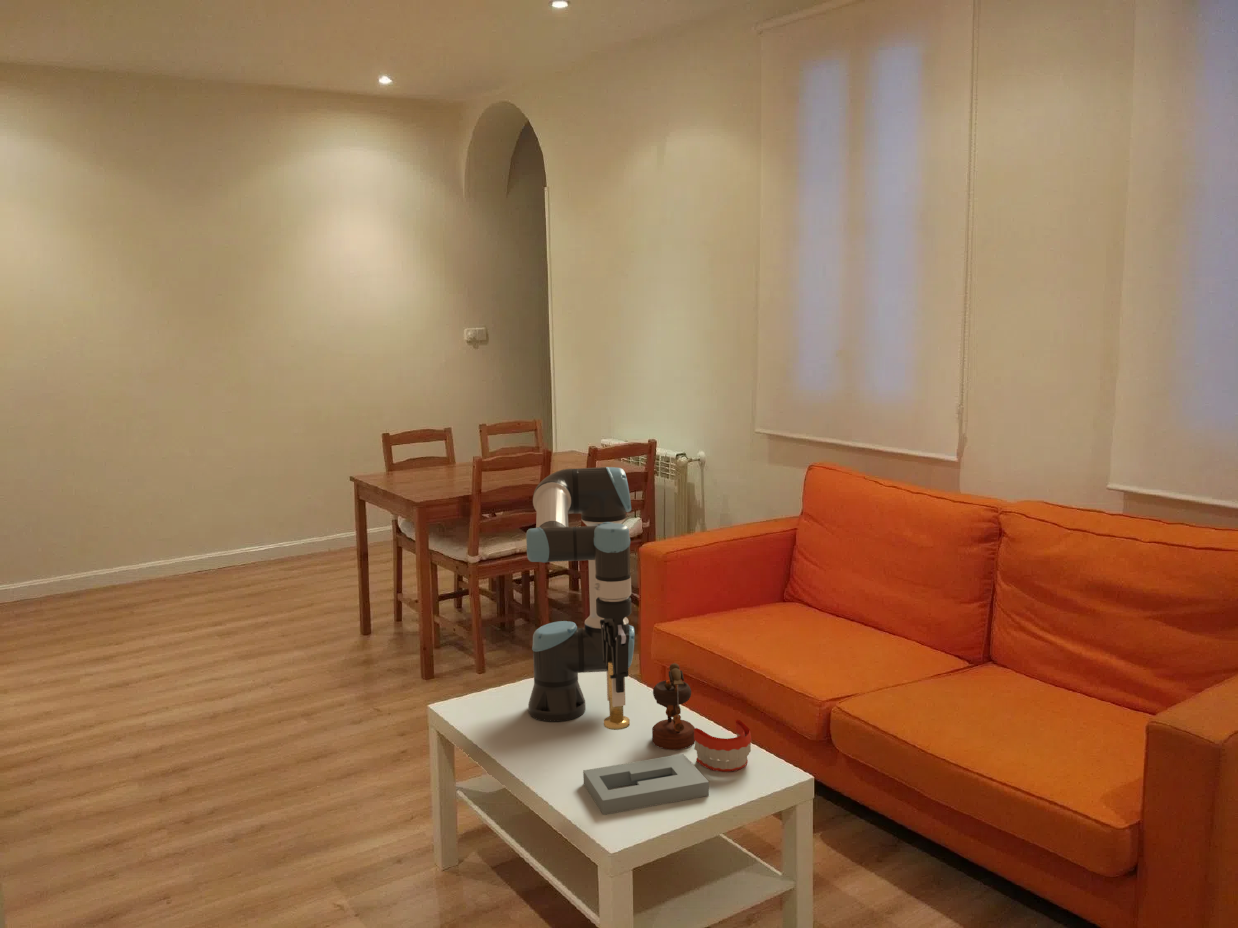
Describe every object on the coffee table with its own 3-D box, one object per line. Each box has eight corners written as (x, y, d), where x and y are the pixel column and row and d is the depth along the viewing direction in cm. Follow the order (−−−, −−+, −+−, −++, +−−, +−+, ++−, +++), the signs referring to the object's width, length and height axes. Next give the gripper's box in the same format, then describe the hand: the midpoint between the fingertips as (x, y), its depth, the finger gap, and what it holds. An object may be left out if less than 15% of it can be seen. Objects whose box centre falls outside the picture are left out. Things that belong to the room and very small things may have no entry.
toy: (714, 779, 228) (713, 745, 226) (692, 761, 237) (692, 728, 236) (762, 768, 233) (762, 735, 231) (739, 750, 242) (739, 718, 241)
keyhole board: (583, 783, 227) (583, 770, 226) (683, 766, 234) (683, 753, 234) (603, 814, 213) (602, 800, 212) (708, 795, 220) (708, 781, 219)
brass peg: (600, 721, 221) (598, 660, 219) (625, 718, 223) (623, 656, 221) (608, 731, 216) (606, 668, 214) (633, 727, 218) (631, 664, 216)
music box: (708, 746, 244) (700, 668, 241) (667, 759, 240) (659, 680, 237) (679, 723, 258) (672, 649, 255) (640, 735, 254) (632, 660, 250)
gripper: (586, 589, 222) (589, 692, 225) (607, 608, 207) (610, 718, 210) (618, 586, 224) (621, 687, 227) (642, 604, 209) (644, 713, 212)
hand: (616, 702), depth 219 cm, fingers closed on brass peg, 3 cm apart
